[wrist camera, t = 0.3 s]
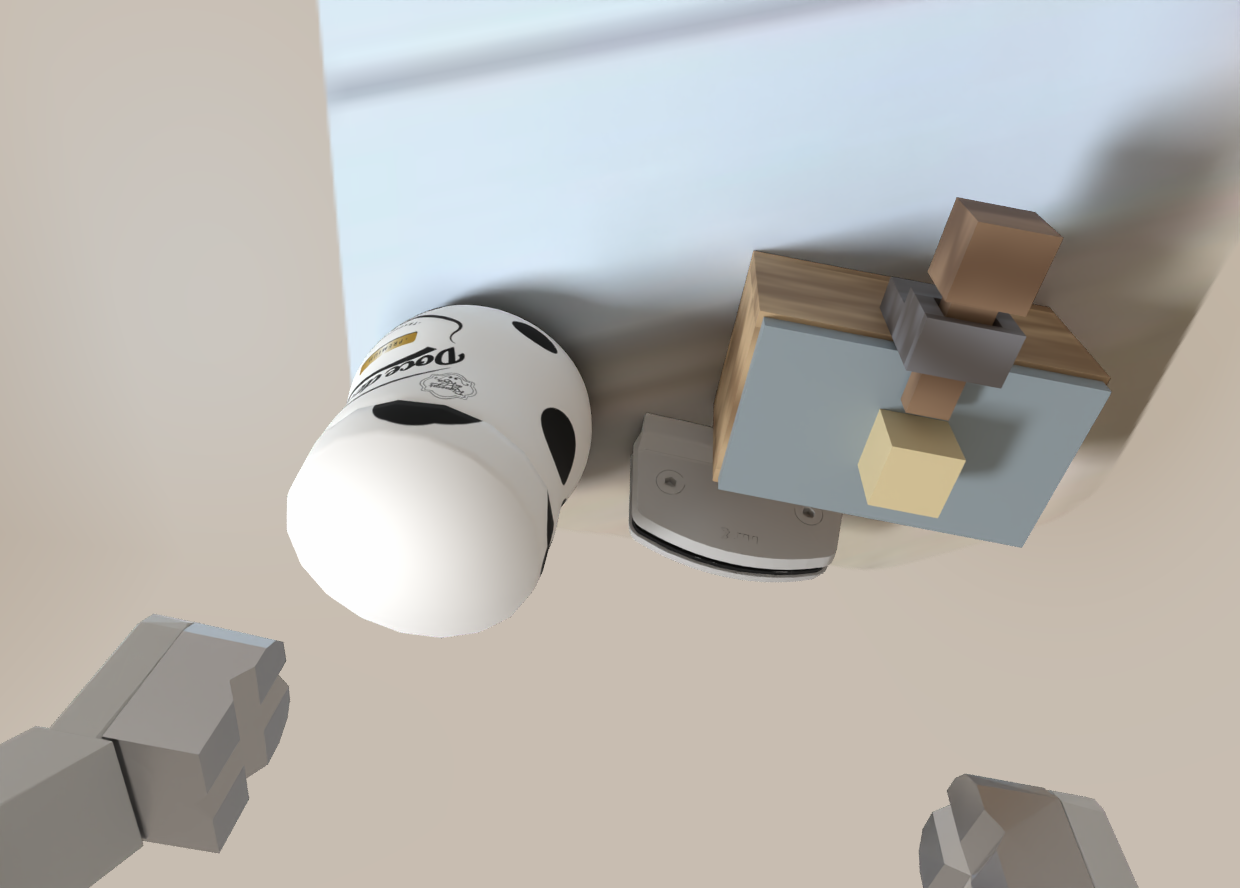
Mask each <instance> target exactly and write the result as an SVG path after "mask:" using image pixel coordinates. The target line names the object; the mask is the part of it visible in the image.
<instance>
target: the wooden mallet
mask: <svg viewBox="0 0 1240 888" xmlns="http://www.w3.org/2000/svg"><path fill="white" fill-rule="evenodd" d="M1062 240H1063V237H1062V236H1061V235H1060V234H1059V233H1058V232H1056V231H1055V230H1054V229H1053V228H1052V227H1051V226H1050V225H1049V224H1048V223H1046V222H1045V221H1044V220H1043V219H1042V218H1041V217H1040V216H1039V215H1038V214H1036V213H1035V212H1031V211H1026V210H1021V209H1016V208H1010V207H1005V206H1000V205H995V204H990V203H984V202H979V201H974V200H969V199H963V198H958V197H957V198H956V200H955V203H954V205H953V208H952V211H951V213H950V216H949V218H948V221H947V223H946V226H945V228H944V231H943V234H942V236H941V239H940V241H939V244H938V246H937V249H936V251H935V254H934V257H933V259H932V262H931V264H930V267H929V269H928V274H929V275H930V277H931V279H932V280H933V282H934V284H935V285H936V287H937V289H938V290H939V292H940V294H941V295H942V299H941V302H940V304H939V308H940V310H941V312H942V313H943V315H944V317H949V318H955V319H960V320H965V321H970V322H975V323H981V324H986V325H991V326H992V325H993V323H994V320H995V318H996V316H997V314H998V312H1003V313H1008V314H1014V315H1019V316H1024V317H1026V315H1027V313H1028V311H1029V309H1030V307H1031V305H1032V303H1033V301H1034V299H1035V297H1036V294H1037V292H1038V290H1039V288H1040V286H1041V284H1042V282H1043V280H1044V278H1045V276H1046V274H1047V271H1048V269H1049V267H1050V265H1051V263H1052V261H1053V259H1054V257H1055V255H1056V253H1057V251H1058V249H1059V246H1060V244H1061V242H1062ZM965 384H966V382H963V381H958V380H953V379H948V378H943V377H937V376H932V375H927V374H922V373H917V372H911V375H910V377H909V380H908V382H907V385H906V387H905V389H904V392H903V394H902V397H901V402H902V404H903V407H904V409H905V412H906V413H911V414H916V415H921V416H927V417H932V418H937V419H942V420H947V421H949V419H950V417H951V414H952V412H953V410H954V408H955V406H956V404H957V401H958V399H959V397H960V395H961V393H962V390H963V388H964V386H965Z"/></svg>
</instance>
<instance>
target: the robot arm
mask: <svg viewBox="0 0 1240 888" xmlns="http://www.w3.org/2000/svg"><path fill="white" fill-rule="evenodd" d="M285 662H286V656H285V650H284V644H283V642H281V641H277V640H272V639H268V638H263V637H259V636H254V635H249V634H245V633H241V632H236V631H232V630H227V629H223V628H219V627H214V626H209V625H205V624H201V623H196V622H191V621H186V620H181V619H177V618H172V617H167V616H162V615H157V614H152V615H151V616H149V617H147V618H146V619H144V620H143V621H141V622H140V623H138V624H137V625H136V627H135V628H134V629H133V630H132V631H131V632H130V633H129V635H128V636H127V637H126V638H125V639H124V641H123V642H122V643H121V644H120V645H119V646H118V648H117V649H116V650H115V651H114V652H113V654H112V655H111V656H110V657H109V658H108V660H107V661H106V662H105V663H104V664H103V665H102V667H101V668H100V669H99V670H98V671H97V672H96V674H95V675H94V676H93V677H92V678H91V680H90V681H89V682H88V683H87V684H86V686H85V687H84V688H83V689H82V690H81V691H80V693H79V694H78V695H77V696H76V697H75V698H74V700H73V701H72V702H71V703H70V704H69V706H68V707H67V708H66V709H65V710H64V712H63V713H62V714H61V715H60V716H59V717H58V719H57V720H56V721H55V722H54V723H53V725H52V726H51V727H50V728H45V727H39V726H35V727H33V728H31V729H29V730H27V731H25V732H23V733H21V734H20V735H17V736H15V737H14V738H11V739H10V740H7V741H6V742H4V743H2V744H0V888H89V887H90V886H92V885H93V884H94V883H96V882H97V881H98V880H99V879H101V878H102V877H103V876H105V875H106V874H107V873H109V872H110V871H111V870H113V869H114V868H115V867H116V866H118V865H119V864H120V863H122V862H123V861H124V860H126V859H127V858H128V857H129V856H131V855H132V854H133V853H135V852H136V851H137V850H139V849H140V848H141V847H142V846H143V841H147V842H153V843H159V844H165V845H172V846H178V847H184V848H189V849H196V850H202V851H208V852H214V853H220V851H221V849H222V847H223V846H224V844H225V842H226V840H227V838H228V836H229V835H230V833H231V831H232V829H233V827H234V826H235V824H236V822H237V820H238V818H239V816H240V815H241V813H242V811H243V809H244V807H245V805H246V804H247V802H248V800H249V795H248V788H247V782H246V778H248V777H249V776H251V775H252V774H254V773H255V772H257V771H258V770H260V769H262V768H263V767H265V766H266V765H268V763H269V761H270V759H271V757H272V755H273V753H274V752H275V750H276V748H277V746H278V744H279V742H280V739H281V736H282V733H283V730H284V727H285V724H286V721H287V718H288V710H289V703H290V696H289V686H288V685H287V684H286V682H285V681H284V680H283V679H282V678H281V677H280V676H279V675H278V674H279V672H280V671H281V669H282V668H283V666H284V664H285ZM947 793H948V797H949V801H950V805H948V806H946V807H943V808H941V809H939V810H936V811H934V812H932V814H931V816H930V818H929V819H928V821H927V823H926V824H925V826H924V828H923V830H922V836H921V842H920V848H919V862H920V863H919V865H920V874H921V880H922V885H923V888H1138V885H1137V883H1136V881H1135V879H1134V877H1133V874H1132V872H1131V870H1130V868H1129V865H1128V863H1127V861H1126V859H1125V856H1124V854H1123V852H1122V850H1121V847H1120V845H1119V843H1118V840H1117V838H1116V836H1115V834H1114V831H1113V829H1112V827H1111V825H1110V823H1109V820H1108V818H1107V816H1106V813H1105V811H1104V810H1103V808H1102V807H1101V806H1100V805H1099V804H1098V803H1097V802H1096V801H1095V800H1094V799H1092V798H1088V797H1083V796H1078V795H1073V794H1067V793H1062V792H1056V791H1051V790H1046V789H1045V788H1042V787H1036V786H1031V785H1025V784H1019V783H1013V782H1008V781H1003V780H997V779H992V778H986V777H981V776H975V775H970V774H963V775H961V776H959V777H956V778H955V779H954V781H953V782H952V784H951V785H950V787H949V788H948V790H947Z"/></svg>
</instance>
